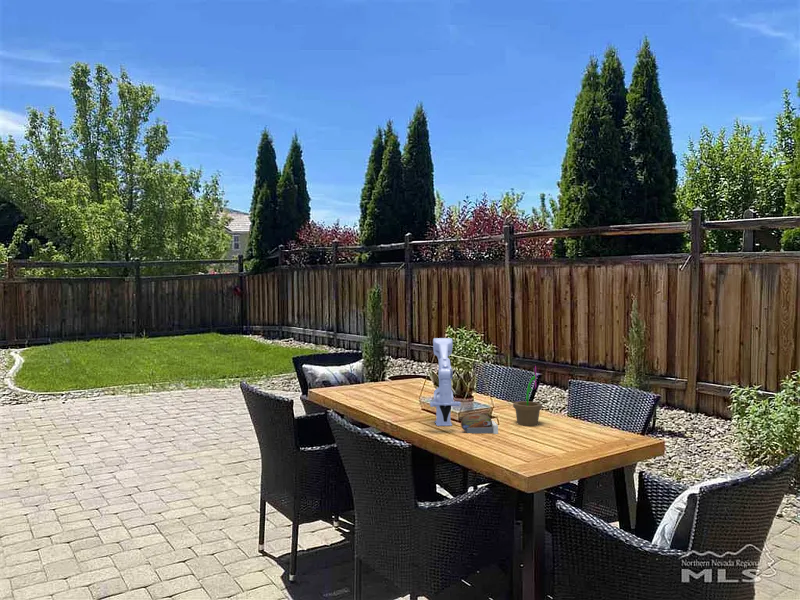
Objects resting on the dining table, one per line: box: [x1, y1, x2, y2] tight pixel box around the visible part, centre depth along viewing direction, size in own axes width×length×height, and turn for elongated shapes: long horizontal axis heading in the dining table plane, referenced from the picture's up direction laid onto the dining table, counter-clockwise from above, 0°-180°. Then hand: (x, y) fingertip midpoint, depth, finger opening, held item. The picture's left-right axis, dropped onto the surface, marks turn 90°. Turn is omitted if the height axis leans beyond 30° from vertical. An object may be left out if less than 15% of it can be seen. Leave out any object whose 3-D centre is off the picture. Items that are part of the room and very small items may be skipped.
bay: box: [466, 420, 499, 435], centre depth 284 cm, size 10×14×4 cm
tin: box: [460, 413, 493, 433], centre depth 284 cm, size 15×3×8 cm, turn 98°
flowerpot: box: [512, 365, 543, 427], centre depth 300 cm, size 14×14×30 cm
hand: (445, 421), depth 283 cm, fingers closed
